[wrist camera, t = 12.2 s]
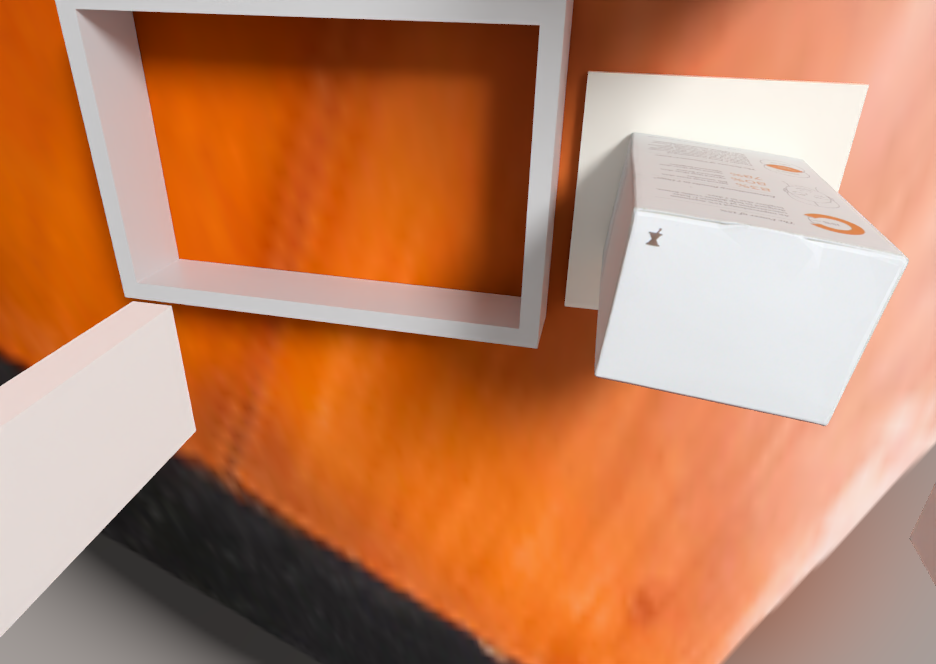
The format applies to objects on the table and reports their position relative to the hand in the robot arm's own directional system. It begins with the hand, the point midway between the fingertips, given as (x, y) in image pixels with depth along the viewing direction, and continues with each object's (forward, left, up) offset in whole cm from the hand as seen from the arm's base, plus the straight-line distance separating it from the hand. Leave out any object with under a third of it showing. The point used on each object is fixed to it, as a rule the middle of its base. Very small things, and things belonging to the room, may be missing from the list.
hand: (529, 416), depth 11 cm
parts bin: (-14, -2, -24) cm, 28 cm away
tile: (+5, -3, -24) cm, 25 cm away
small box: (+5, -3, -24) cm, 24 cm away
